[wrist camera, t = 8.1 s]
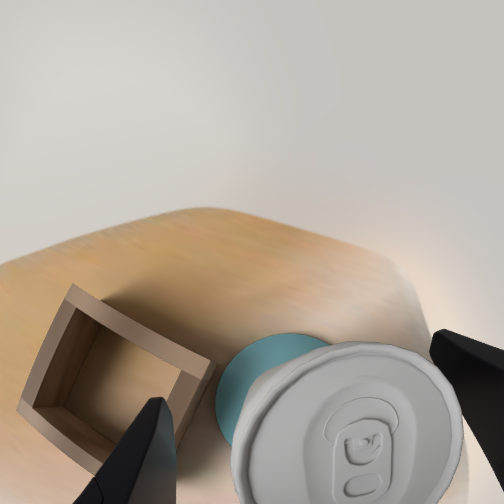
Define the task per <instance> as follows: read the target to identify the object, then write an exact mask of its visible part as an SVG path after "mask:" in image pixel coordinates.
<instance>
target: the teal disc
mask: <svg viewBox="0 0 504 504" xmlns="http://www.w3.org/2000/svg"><path fill="white" fill-rule="evenodd" d="M325 346H330V345H328V344H327V343H325V342H323V341H321V340H319V339H316V338H313V337H310V336H306V335H301V334H278V335H273V336H269V337H266V338H263V339H260V340H258V341H256V342H254V343H252V344H251V345H249V346H247V347H246V348H244V349H243V350H242V351H241V352H239V353H238V354H237V355H236V356H235V357H234V358H233V359H232V361H231V362H230V363H229V365H228V366H227V367H226V369H225V371H224V372H223V374H222V376H221V379H220V381H219V384H218V387H217V392H216V399H215V411H216V417H217V421H218V424H219V427H220V430H221V432H222V434H223V436H224V437H225V439H226V440H227V442H228V443H229V445H230V446H231V447H232V442H233V434H234V431H235V428H236V425H237V422H238V419H239V416H240V413H241V410H242V407H243V404H244V401H245V398H246V396H247V393H248V391H249V388H250V386H251V385H252V384H253V383H254V381H255V380H256V379H257V378H258V377H259V376H260V375H261V374H263V373H264V372H265V371H266V370H269V369H271V368H273V367H275V366H278V365H280V364H282V363H285V362H287V361H290V360H292V359H294V358H296V357H299V356H301V355H303V354H306V353H308V352H310V351H312V350H314V349H317V348H321V347H325Z"/></svg>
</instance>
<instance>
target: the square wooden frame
mask: <svg viewBox="0 0 504 504" xmlns="http://www.w3.org/2000/svg"><path fill="white" fill-rule="evenodd" d="M102 324H103V325H104V326H106V327H107V328H109V329H111V330H112V331H114V332H115V333H117V334H119V335H120V336H122V337H124V338H125V339H127V340H129V341H130V342H132V343H134V344H135V345H137V346H139V347H141V348H142V349H144V350H146V351H148V352H149V353H151V354H153V355H155V356H157V357H158V358H160V359H162V360H164V361H166V362H168V363H170V364H172V365H173V366H175V367H177V368H179V369H181V370H182V371H181V373H180V375H179V377H178V379H177V381H176V383H175V385H174V387H173V389H172V391H171V393H170V395H169V397H168V400H167V402H166V403H167V405H168V407H169V409H170V411H171V413H172V417H173V426H174V438H175V449H176V450H177V448H178V446H179V444H180V442H181V440H182V438H183V436H184V434H185V432H186V430H187V427H188V425H189V423H190V421H191V419H192V417H193V415H194V413H195V411H196V409H197V407H198V405H199V403H200V401H201V399H202V397H203V395H204V393H205V391H206V388H207V386H208V384H209V382H210V380H211V378H212V376H213V374H214V372H215V370H216V368H217V366H218V364H217V363H215V362H213V361H211V360H208V359H206V358H204V357H202V356H200V355H198V354H196V353H194V352H192V351H190V350H188V349H186V348H184V347H182V346H180V345H178V344H176V343H174V342H172V341H170V340H168V339H167V338H165V337H163V336H161V335H159V334H157V333H155V332H153V331H152V330H150V329H148V328H146V327H144V326H143V325H141V324H139V323H137V322H135V321H134V320H132V319H130V318H128V317H127V316H125V315H123V314H122V313H120V312H118V311H117V310H115V309H113V308H111V307H110V306H108V305H107V304H105V303H103V302H102V301H100V300H98V299H97V298H95V297H94V296H92V295H90V294H89V293H87V292H86V291H84V290H83V289H81V288H79V287H78V286H76V285H75V284H73V283H72V285H71V287H70V289H69V291H68V293H67V294H66V296H65V298H64V300H63V302H62V304H61V306H60V308H59V310H58V312H57V314H56V316H55V318H54V320H53V322H52V324H51V326H50V328H49V331H48V333H47V335H46V337H45V339H44V341H43V344H42V346H41V348H40V350H39V353H38V355H37V357H36V360H35V362H34V365H33V367H32V369H31V372H30V374H29V377H28V379H27V382H26V385H25V387H24V390H23V393H22V395H21V398H20V401H19V404H18V407H17V410H16V411H17V412H18V413H19V414H20V415H21V416H22V417H23V418H24V419H25V420H27V421H28V422H29V423H30V424H31V425H32V426H33V427H34V428H35V429H36V430H37V431H38V432H40V433H41V434H42V435H43V436H44V437H45V438H46V439H48V440H49V441H50V442H51V443H52V444H53V445H55V446H56V447H57V448H58V449H60V450H61V451H62V452H63V453H65V454H66V455H67V456H68V457H70V458H71V459H72V460H74V461H75V462H76V463H78V464H79V465H80V466H82V467H83V468H84V469H86V470H87V471H89V472H90V473H91V474H93V475H94V476H95V474H96V473H97V471H98V470H99V468H100V467H101V466H102V464H103V463H104V461H105V460H106V459H107V457H108V456H109V454H110V453H111V452H112V450H113V449H114V447H115V446H116V444H115V443H113V442H112V441H110V440H109V439H107V438H106V437H104V436H103V435H101V434H100V433H98V432H97V431H95V430H94V429H93V428H91V427H90V426H88V425H87V424H86V423H84V422H83V421H82V420H80V419H79V418H78V417H76V416H75V415H74V414H72V413H71V412H70V411H68V410H67V409H66V408H65V407H64V405H65V403H66V400H67V398H68V395H69V393H70V391H71V388H72V386H73V384H74V382H75V379H76V377H77V375H78V373H79V370H80V368H81V366H82V364H83V362H84V360H85V357H86V355H87V353H88V351H89V349H90V347H91V345H92V343H93V341H94V339H95V337H96V335H97V333H98V331H99V329H100V327H101V325H102Z"/></svg>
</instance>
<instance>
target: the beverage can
mask: <svg viewBox="0 0 504 504" xmlns="http://www.w3.org/2000/svg"><path fill="white" fill-rule="evenodd" d="M463 437H464V431H463V421H462V411H461V407H460V404H459V402H458V399H457V396H456V394H455V391H454V389H453V386H452V385H451V384H450V383H449V381H448V380H447V379H446V377H445V376H444V375H443V374H442V372H441V371H440V370H439V369H438V367H437V366H435V365H434V364H432V363H431V362H429V361H428V360H426V359H425V358H424V357H422V356H421V355H419V354H418V353H416V352H413V351H410V350H407V349H403V348H400V347H397V346H394V345H390V344H381V343H378V342H357V341H347V342H343V343H339V344H334V345H330V346H325V347H321V348H317V349H314V350H312V351H310V352H308V353H306V354H303V355H301V356H299V357H296V358H294V359H292V360H290V361H287V362H285V363H282V364H280V365H278V366H275V367H273V368H271V369H269V370H266V371H265V372H264V373H263V374H261V375H260V376H259V377H258V378H257V379H256V380H255V381H254V383H253V384H252V385H251V386H250V388H249V391H248V393H247V396H246V398H245V401H244V404H243V407H242V410H241V413H240V416H239V419H238V422H237V425H236V428H235V431H234V434H233V442H232V450H231V459H230V467H231V472H232V477H233V482H234V486H235V491H236V493H237V495H238V497H239V499H240V503H241V504H437V503H438V502H439V500H440V499H441V497H442V496H443V494H444V493H445V492H446V490H447V489H448V487H449V485H450V483H451V481H452V478H453V476H454V474H455V471H456V469H457V466H458V463H459V461H460V456H461V450H462V443H463Z"/></svg>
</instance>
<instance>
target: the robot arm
mask: <svg viewBox="0 0 504 504" xmlns="http://www.w3.org/2000/svg"><path fill="white" fill-rule="evenodd" d="M429 353H430V357H431V359H432V361H433V363H434V365H435V366H437V367H438V369H439V370H440V371H441V372H442V374H443V375H444V376H445V377H446V379H447V380H448V381H449V383H450V384H451V385H452V386H453V389H454V391H455V394H456V396H457V399H458V402H459V404H460V407H461V411H462V415H463V416H464V418H465V420H466V422H467V424H468V425H469V427H470V429H471V430H472V432H473V434H474V436H475V437H476V439H477V441H478V443H479V445H480V446H481V448H482V450H483V452H484V454H485V456H486V458H487V459H488V461H489V463H490V465H491V467H492V469H493V471H494V473H495V475H496V477H497V479H498V481H499V483H500V485H501V487H502V489H503V491H504V350H502V349H499V348H496V347H493V346H490V345H487V344H485V343H482V342H479V341H477V340H474V339H471V338H468V337H466V336H463V335H460V334H457V333H455V332H452V331H449V330H446V329H441V330H439V331H437V332H435V333H434V334H433V337H432V342H431V346H430V350H429ZM176 470H177V460H176V449H175V438H174V426H173V417H172V413H171V411H170V409H169V407H168V405H167V403H166V401H165V399H164V398H163V397H153V398H150V399H149V400H148V401H147V403H146V404H145V406H144V407H143V408H142V410H141V411H140V413H139V414H138V415H137V417H136V418H135V420H134V421H133V422H132V424H131V425H130V427H129V428H128V429H127V431H126V432H125V434H124V435H123V436H122V438H121V439H120V440H119V442H118V443H117V445H116V446H115V447H114V449H113V450H112V452H111V453H110V454H109V456H108V457H107V459H106V460H105V461H104V463H103V464H102V466H101V467H100V468H99V470H98V471H97V473H96V474H95V477H93V478H92V479H91V481H90V482H89V484H88V485H87V486H86V488H85V489H84V490H83V491H82V493H81V494H80V495H79V497H78V498H77V499H76V500H75V501H74V502H73V503H72V504H176Z"/></svg>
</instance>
